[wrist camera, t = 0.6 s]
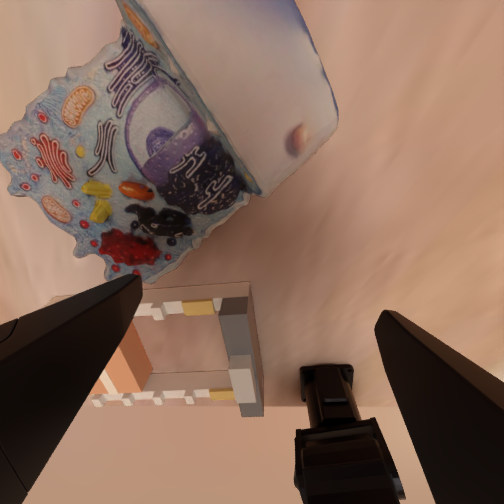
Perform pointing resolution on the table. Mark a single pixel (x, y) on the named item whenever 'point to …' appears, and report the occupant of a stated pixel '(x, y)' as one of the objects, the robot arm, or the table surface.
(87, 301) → the robot arm
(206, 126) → the cell model
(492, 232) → the table surface
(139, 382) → the block
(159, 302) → the comb channel
